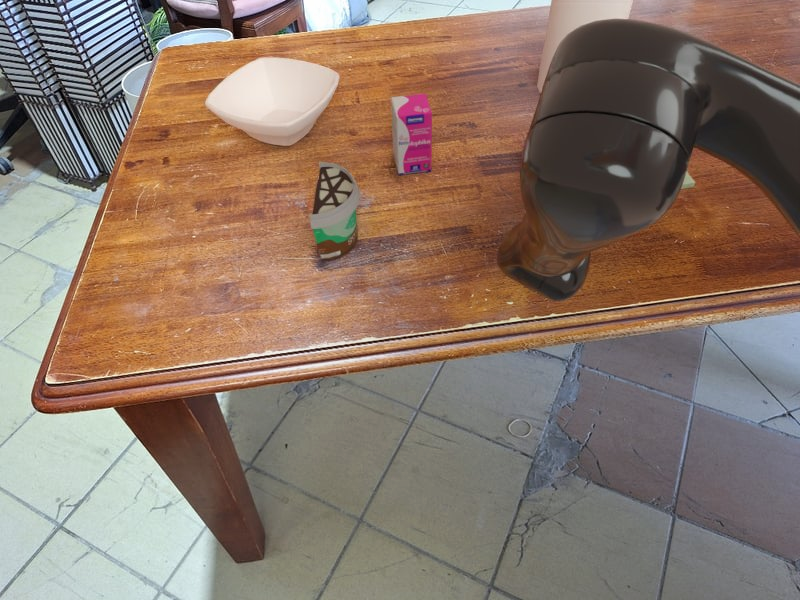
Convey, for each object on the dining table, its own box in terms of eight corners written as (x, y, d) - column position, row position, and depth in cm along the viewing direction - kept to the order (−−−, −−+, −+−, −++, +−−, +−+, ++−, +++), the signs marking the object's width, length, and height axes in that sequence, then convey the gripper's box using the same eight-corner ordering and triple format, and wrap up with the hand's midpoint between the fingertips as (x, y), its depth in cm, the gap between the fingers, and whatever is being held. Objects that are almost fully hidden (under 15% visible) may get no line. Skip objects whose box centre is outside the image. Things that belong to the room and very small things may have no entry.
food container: (362, 268, 76) (355, 216, 68) (320, 269, 76) (308, 217, 68) (367, 211, 84) (361, 158, 76) (328, 211, 84) (318, 159, 76)
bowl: (205, 148, 96) (188, 106, 89) (269, 92, 108) (258, 51, 101) (300, 176, 90) (290, 132, 83) (358, 113, 101) (353, 70, 95)
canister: (533, 70, 109) (550, -39, 93) (599, 69, 108) (628, -42, 92) (541, 106, 100) (562, -7, 85) (614, 105, 100) (648, -10, 84)
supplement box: (398, 177, 89) (395, 116, 80) (393, 156, 92) (389, 95, 83) (432, 172, 89) (432, 111, 80) (425, 152, 93) (425, 91, 84)
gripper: (653, 177, 65) (688, 109, 74) (545, 144, 70) (590, 84, 79) (634, 222, 71) (669, 154, 80) (536, 189, 76) (579, 128, 85)
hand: (630, 120), depth 79 cm, fingers closed on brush, 3 cm apart
